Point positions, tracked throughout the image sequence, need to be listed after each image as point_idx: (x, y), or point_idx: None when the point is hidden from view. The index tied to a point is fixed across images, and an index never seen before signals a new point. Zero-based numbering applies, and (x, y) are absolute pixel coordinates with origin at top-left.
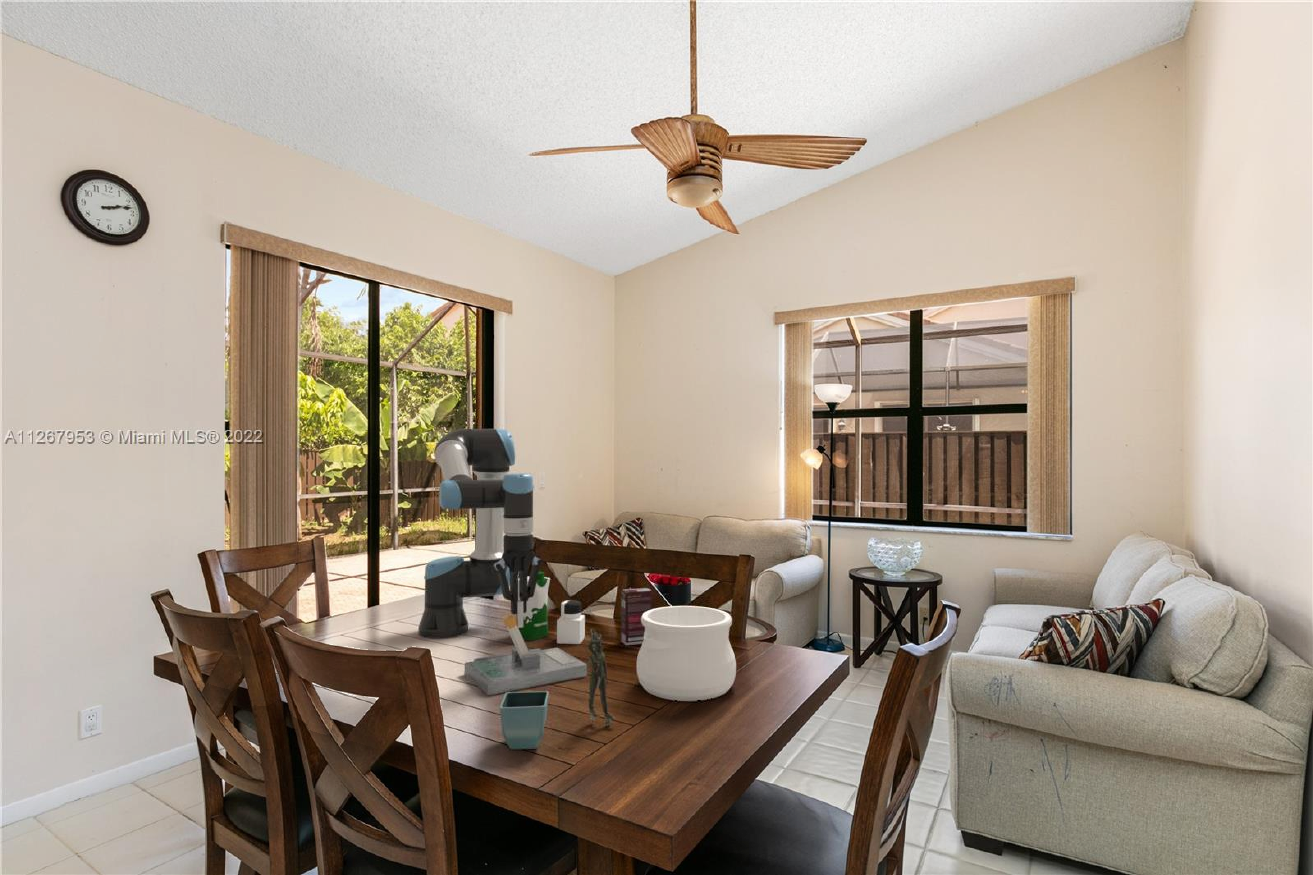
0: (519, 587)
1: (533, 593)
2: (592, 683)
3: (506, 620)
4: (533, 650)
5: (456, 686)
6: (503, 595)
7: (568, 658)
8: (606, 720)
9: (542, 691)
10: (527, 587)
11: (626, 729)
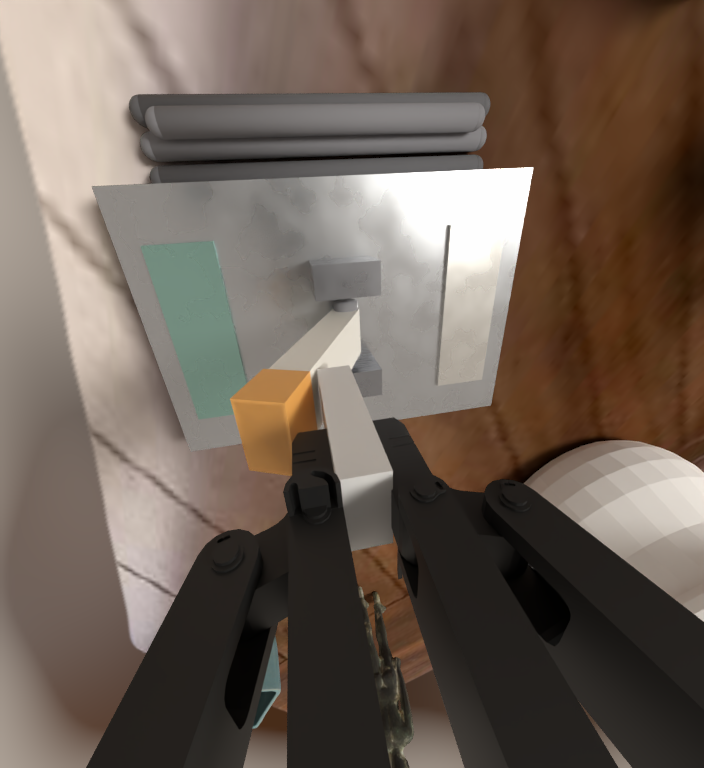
0: (446, 621)
1: (524, 575)
2: None
3: (248, 464)
4: (444, 124)
5: (94, 320)
6: (190, 593)
7: (479, 344)
8: (374, 602)
9: (269, 690)
10: (555, 581)
11: (391, 602)
